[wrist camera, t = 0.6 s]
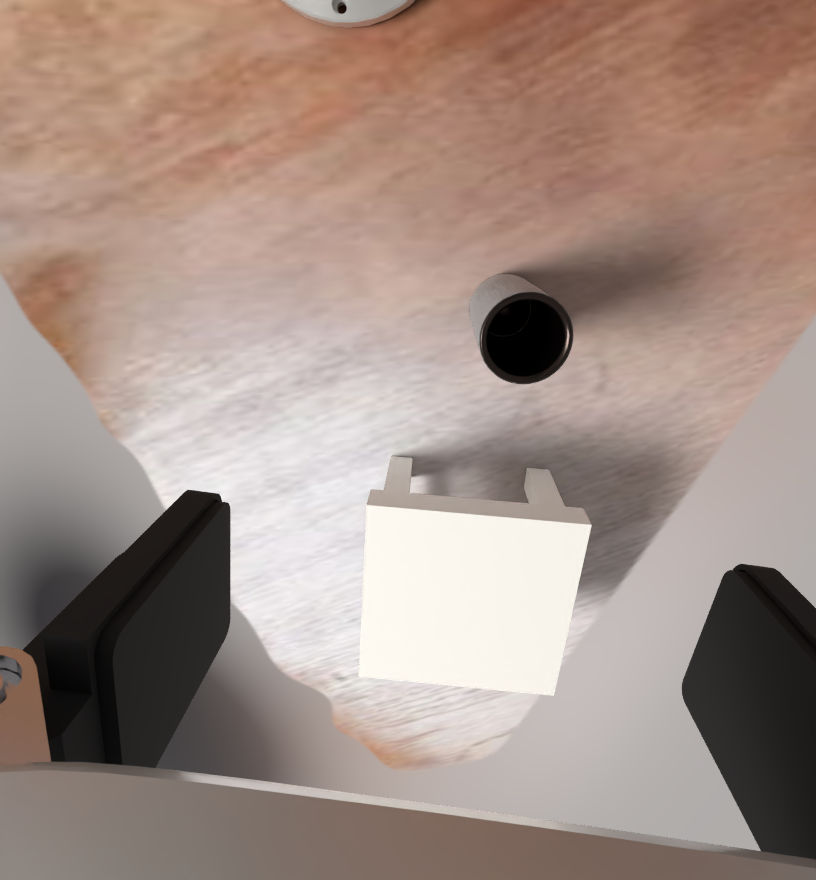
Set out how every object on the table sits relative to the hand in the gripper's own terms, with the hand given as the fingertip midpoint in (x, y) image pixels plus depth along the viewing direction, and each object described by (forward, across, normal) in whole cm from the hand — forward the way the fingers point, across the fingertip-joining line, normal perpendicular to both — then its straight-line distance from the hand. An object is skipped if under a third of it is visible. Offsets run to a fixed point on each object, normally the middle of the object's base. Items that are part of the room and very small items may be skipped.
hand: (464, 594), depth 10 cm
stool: (+29, -3, +15) cm, 32 cm away
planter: (+28, -3, -2) cm, 29 cm away
